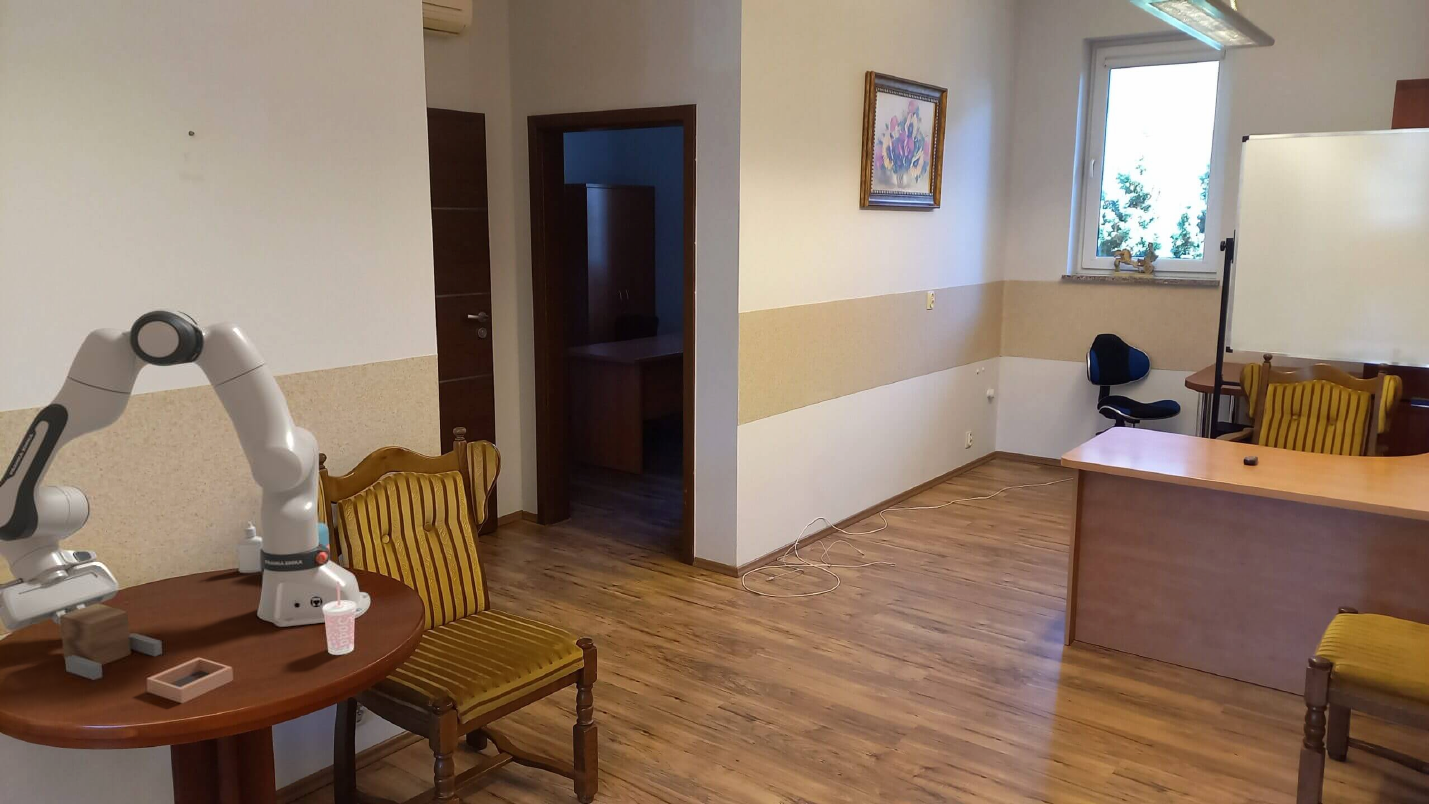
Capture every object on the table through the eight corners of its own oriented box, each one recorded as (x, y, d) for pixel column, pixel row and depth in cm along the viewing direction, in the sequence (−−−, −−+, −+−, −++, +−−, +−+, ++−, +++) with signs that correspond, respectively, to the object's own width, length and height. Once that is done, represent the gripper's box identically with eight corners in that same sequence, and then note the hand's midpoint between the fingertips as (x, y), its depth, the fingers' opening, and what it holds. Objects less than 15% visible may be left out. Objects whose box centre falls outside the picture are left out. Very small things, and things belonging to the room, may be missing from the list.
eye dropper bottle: (257, 574, 229) (254, 525, 227) (235, 572, 230) (232, 524, 228) (268, 568, 233) (265, 520, 231) (247, 566, 234) (244, 518, 232)
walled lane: (66, 670, 177) (65, 657, 176) (134, 645, 188) (134, 632, 188) (94, 680, 173) (92, 667, 173) (162, 653, 185) (161, 641, 185)
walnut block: (63, 658, 182) (60, 615, 181) (101, 644, 188) (97, 603, 187) (93, 668, 178) (90, 624, 177) (130, 654, 184) (127, 611, 183)
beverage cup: (324, 658, 185) (321, 588, 182) (323, 646, 190) (320, 577, 188) (358, 653, 187) (356, 584, 185) (356, 641, 193) (354, 574, 190)
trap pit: (147, 691, 170) (146, 678, 169) (199, 670, 178) (198, 657, 178) (182, 703, 166) (181, 689, 165) (233, 680, 175) (232, 667, 174)
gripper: (-10, 579, 177) (27, 640, 174) (102, 548, 195) (137, 603, 192) (-22, 598, 179) (15, 658, 177) (89, 566, 198) (124, 620, 195)
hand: (79, 629), depth 185 cm, fingers closed, pressing on walnut block
